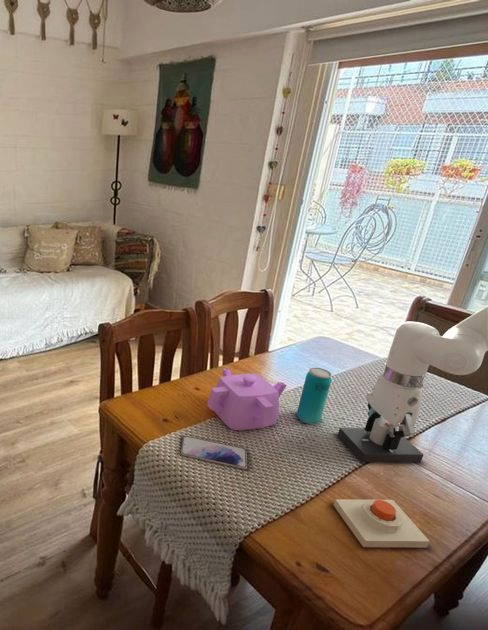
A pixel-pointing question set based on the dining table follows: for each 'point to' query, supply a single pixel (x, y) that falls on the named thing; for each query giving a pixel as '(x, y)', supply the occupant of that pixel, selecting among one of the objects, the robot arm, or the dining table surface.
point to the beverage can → (314, 395)
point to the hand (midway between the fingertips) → (380, 438)
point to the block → (379, 525)
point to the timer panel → (378, 448)
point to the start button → (383, 510)
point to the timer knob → (380, 431)
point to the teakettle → (245, 401)
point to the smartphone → (214, 452)
